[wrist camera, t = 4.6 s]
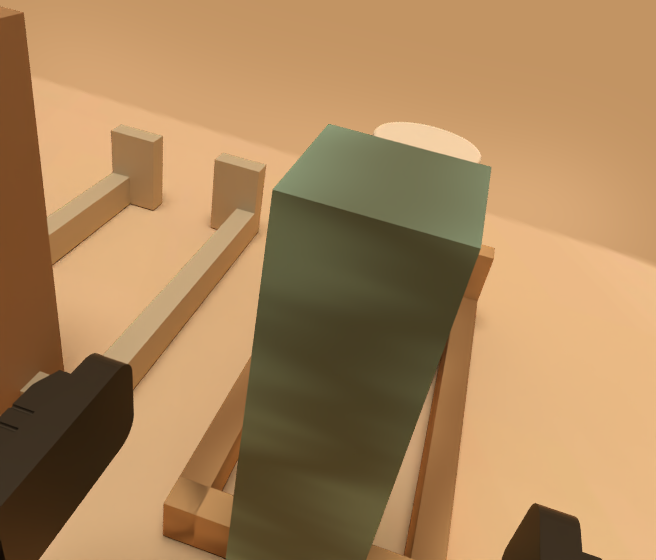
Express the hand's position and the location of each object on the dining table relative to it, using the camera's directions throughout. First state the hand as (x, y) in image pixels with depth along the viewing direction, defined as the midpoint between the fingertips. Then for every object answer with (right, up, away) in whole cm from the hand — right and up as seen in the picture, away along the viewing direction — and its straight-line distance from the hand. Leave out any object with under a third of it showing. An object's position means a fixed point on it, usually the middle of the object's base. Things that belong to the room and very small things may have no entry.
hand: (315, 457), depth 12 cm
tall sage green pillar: (+1, -1, +13) cm, 13 cm away
